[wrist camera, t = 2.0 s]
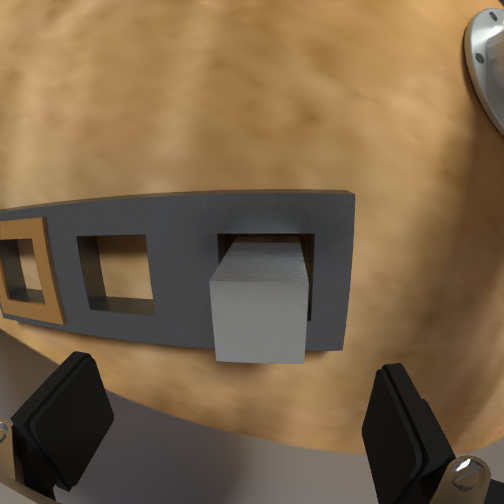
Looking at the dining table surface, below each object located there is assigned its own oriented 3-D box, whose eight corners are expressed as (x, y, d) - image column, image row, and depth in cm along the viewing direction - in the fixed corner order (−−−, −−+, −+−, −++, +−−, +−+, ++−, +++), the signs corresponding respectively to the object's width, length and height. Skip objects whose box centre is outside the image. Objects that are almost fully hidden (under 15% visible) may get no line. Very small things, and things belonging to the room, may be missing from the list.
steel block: (298, 236, 20) (308, 282, 12) (297, 293, 21) (303, 363, 13) (236, 236, 20) (209, 281, 13) (239, 293, 21) (216, 361, 14)
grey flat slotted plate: (346, 190, 19) (356, 194, 16) (337, 331, 21) (343, 352, 19) (-2, 210, 22) (-22, 215, 19) (18, 307, 24) (1, 318, 22)
